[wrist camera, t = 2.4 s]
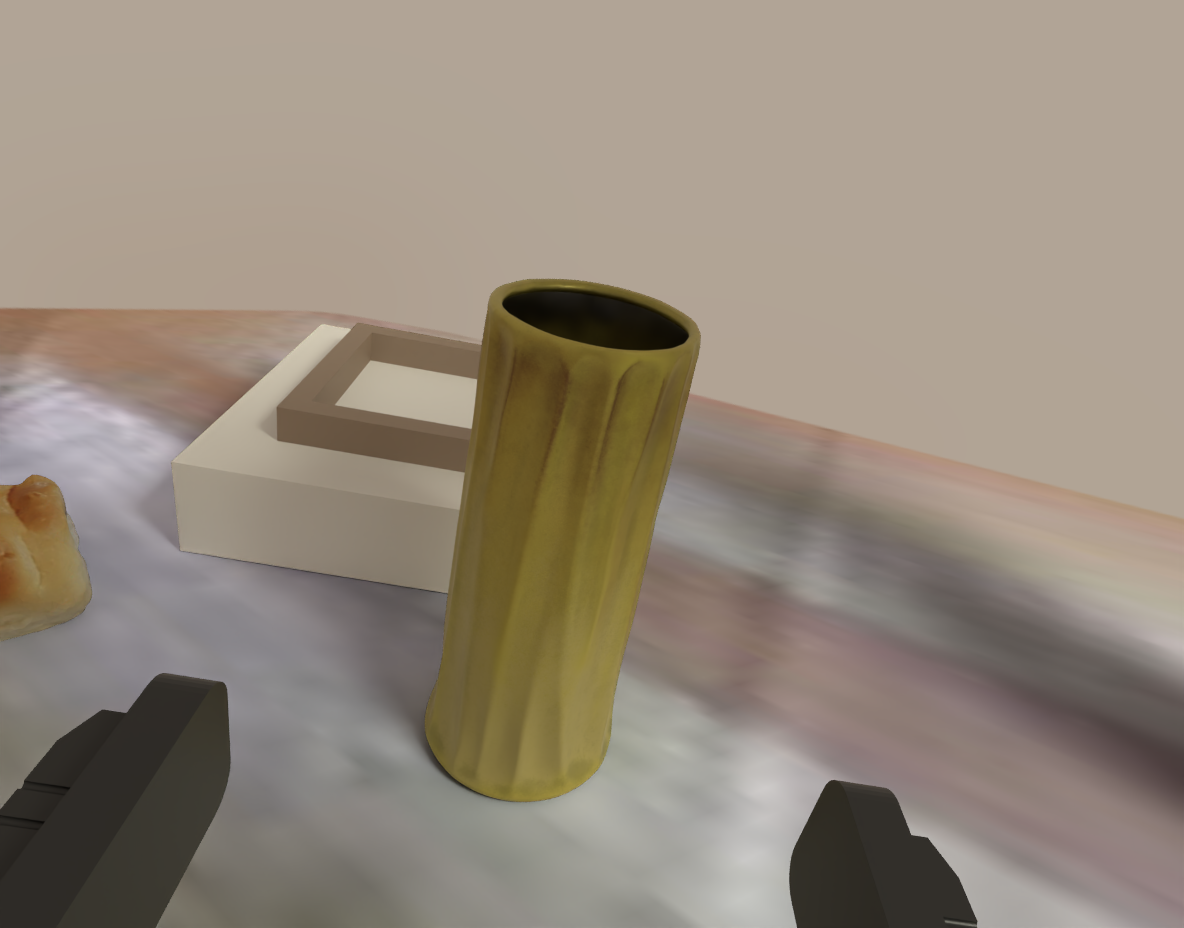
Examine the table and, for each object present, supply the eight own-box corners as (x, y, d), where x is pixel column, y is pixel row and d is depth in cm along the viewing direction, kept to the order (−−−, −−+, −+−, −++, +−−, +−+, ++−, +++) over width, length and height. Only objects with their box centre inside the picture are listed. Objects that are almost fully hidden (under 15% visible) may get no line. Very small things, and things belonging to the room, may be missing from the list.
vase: (607, 670, 28) (704, 297, 21) (610, 819, 22) (741, 381, 16) (442, 647, 27) (487, 257, 20) (405, 793, 22) (448, 330, 15)
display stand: (594, 437, 44) (611, 350, 42) (584, 615, 30) (610, 500, 28) (321, 389, 43) (321, 297, 41) (180, 550, 29) (167, 425, 27)
